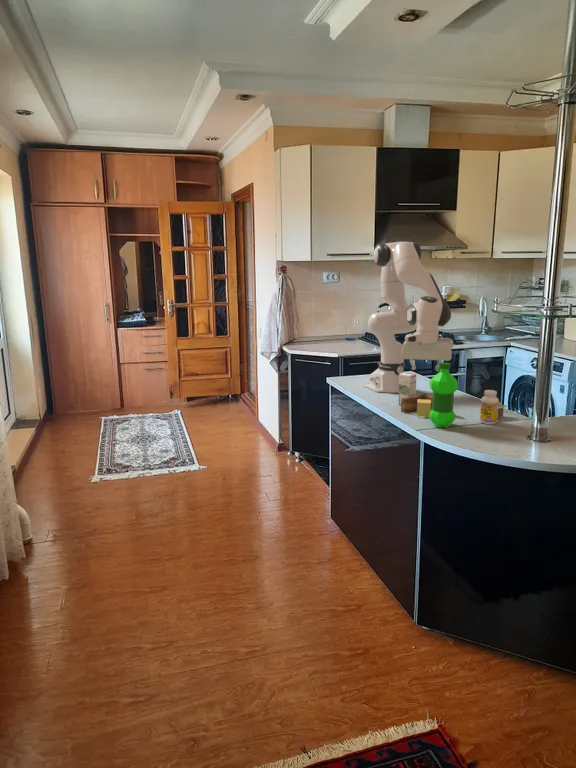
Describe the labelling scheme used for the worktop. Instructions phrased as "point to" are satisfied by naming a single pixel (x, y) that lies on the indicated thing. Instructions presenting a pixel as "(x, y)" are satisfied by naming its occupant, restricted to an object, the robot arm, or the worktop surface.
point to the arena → (413, 402)
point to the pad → (419, 415)
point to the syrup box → (407, 385)
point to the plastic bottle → (443, 396)
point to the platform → (500, 409)
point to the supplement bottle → (489, 407)
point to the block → (423, 407)
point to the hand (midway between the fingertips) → (425, 370)
